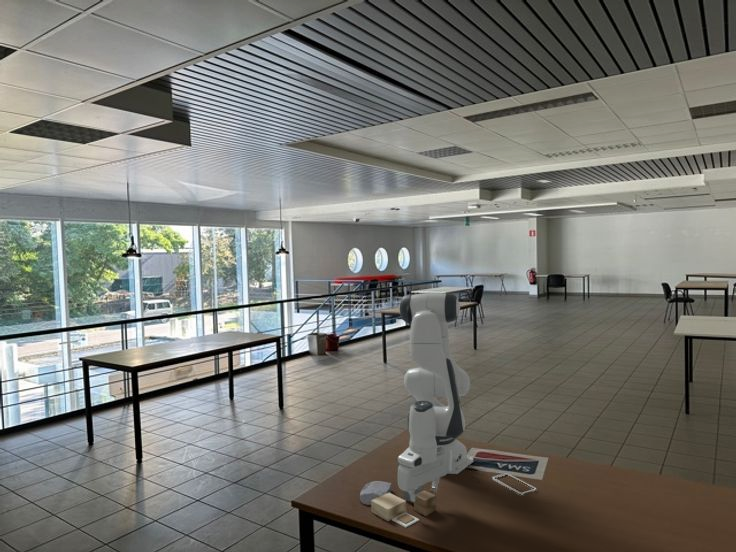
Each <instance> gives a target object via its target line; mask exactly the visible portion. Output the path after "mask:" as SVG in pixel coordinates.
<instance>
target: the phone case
mask: <svg viewBox="0 0 736 552" xmlns="http://www.w3.org/2000/svg"><path fill="white" fill-rule="evenodd" d="M505 475H508V476H507V477H509V476H510V477H512V478H513V479H515V480H517V481H518V480H519V481H521V482H523V483H525V484H527V485H528V486H530V487H532V488H534V489H532V488H531V489H529V490H527V491H523V492H521V491H519V490H517V489H515V488H514V487H513V488H512V487H511V486H510V485H508V484H506V483H504V482H502V481H500V480H499V478H502V476H503V477H506V476H505ZM498 477H499V478H498ZM491 478H492V481H494V482H495V483H497V482H498V484H499V485H501V486H502V487H504V486H505V488H506V487H507V488H506V489H508V488H509V489H508V490H510V491H511V490H513V491H515V492H517V493H518V494H517V493H516V494H517V495H519V494H521V495H523V494H524V495H525V494H527V493H529V492H530V493H531V492H534V491H535V490H536V491H537V487H534V486H533V485H531V484H529V483H527V482H525V481H524V480H522V479H520V478H517V477H516V476H513V475H512V474H510V473H508V472H506V473H502V474H497V475H494V476H492V477H491ZM495 478H496V479H495ZM528 486H527V487H528ZM530 487H529V488H530ZM513 491H512V492H513ZM515 492H514V493H515ZM521 495H520V496H521ZM524 495H523V496H524Z"/></svg>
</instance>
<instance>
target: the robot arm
mask: <svg viewBox="0 0 736 552" xmlns="http://www.w3.org/2000/svg"><path fill="white" fill-rule="evenodd" d="M460 305H461V304H460V301H459V299H458V297H457V295H456V294H453V293H448V292H446V293H440V292H428V293H427V292H426V293H425V292H424V293H416V294H412V293H411V294H405V295H403V296H402V298H401V299H400V302H399V306H398V311H399V316H400V318H401V319H402V321H403V322H405V323H406V324H408V326H409V327H410V330H409V331H410V332H409V354H410V358H411V361H412V362H413V363H414V365H416V366H417V367H413V368H409V369H408V370H407V371H406V372H405V374H404V377H403V384H404V388H405V390H406V391H407V392H408V394H410V395H411V396H412V397H413V398H414V399H415V400H416V401H414V402H413V403H412V404H410V409H409V412H408V415H407V429H408V432H409V435H410V436H409V441H408V442H409V446H408V447H407V448H406V449H405V450H404V451H403V452H402V453H401V454H399V456H397V462H398V463H399V465H398V467H397V487H398V488H399V489H400V490H401V491H402V492H403V491H406V492H409V494H410V500H411V501H412V502H415V501H417V495H415V493H414V491H415V488H417V487H419V486H422V485H423V486H425V484H428V483H430V482H431V485H430V486H429V487H430V488H429V490H430V493H432V494H434V493H436V492H438V486H439V483H440V480H441V479H440V478H443V477H445V476H446V475H448V474H449V475H458V474H460V473H461V472H462V471H464V470H465V469H466V468H468V465H469V466H470V465H471V464H472V463H474V458H473V457H471V455H470V456H469V455H468V450H467V447H466V445H465V444H463V443H462V442H461V441H459V440H458V439H457V438H459V437H460V436H461V435H462V434H464V432H465V428H466V419H465V415H464V412H463V410H462V405H461V401H460V397H463V396H465V395H467V393H468V392H469V390H470V387H471V379H470V377H469V374H468V373H467V372H466V371H465V370H464V369H463V368H461V367H460V366H459V365H458V364H457V363H456V362H455V360H454V358H453V356H452V353H451V348H450V347H451V346H450V339H449V336H450V335H449V325H448V324H449V323H453V322H455V321H456V320H457V319H458V317H459V314H460V311H461V306H460ZM437 397H439V398H440V397H444V398H446V401H447V406H446V405H445V404H443V403H441V402H439V400H438V399H437ZM412 502H411V503H412Z"/></svg>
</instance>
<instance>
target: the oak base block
mask: <svg viewBox="0 0 736 552" xmlns="http://www.w3.org/2000/svg"><path fill="white" fill-rule="evenodd" d="M370 509H371V510H370V511H371V513H373V514H375V515H377V516H378V517H380V518H381V519H384V520H385V521H387V522H390V521H392V519H393V518H395V517H397V516H399V515H401V514H403V513H405V512H406V513H407V501H405V500H403V498H401V497H399V496H397V495H395V494H393V493H392V492H391V493H387V494H385V495H382V496H380V497H378V498H376V499H373V500H371V505H370Z"/></svg>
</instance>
